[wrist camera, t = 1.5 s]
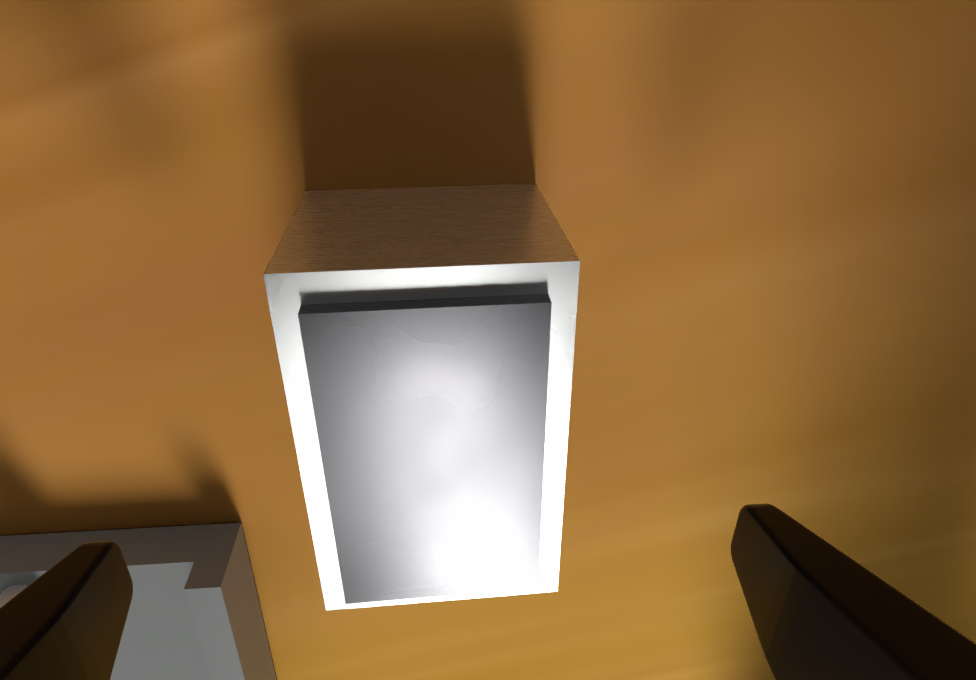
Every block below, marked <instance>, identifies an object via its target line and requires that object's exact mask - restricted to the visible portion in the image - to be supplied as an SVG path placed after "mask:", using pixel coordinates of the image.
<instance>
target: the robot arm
mask: <svg viewBox="0 0 976 680" xmlns="http://www.w3.org/2000/svg"><path fill="white" fill-rule="evenodd" d="M731 555H732V560H733V563H734V566H735V569H736V572H737V575H738V578H739V581H740V584H741V587H742V590H743V593H744V596H745V599H746V602H747V605H748V608H749V611H750V614H751V617H752V620H753V623H754V626H755V629H756V632H757V635H758V638H759V641H760V643H761V646H762V649H763V651H764V654H765V657H766V659H767V662H768V664H769V666H770V669H771V671H772V673H773V675H774V678H775V680H976V644H975V643H973V642H972V641H971V640H969V639H968V638H966V637H965V636H963V635H962V634H960V633H959V632H957V631H956V630H954V629H953V628H952V627H950V626H949V625H947V624H946V623H944V622H943V621H941V620H940V619H938V618H937V617H935V616H934V615H933V614H931V613H930V612H928V611H927V610H925V609H924V608H922V607H921V606H919V605H918V604H917V603H915V602H914V601H912V600H911V599H909V598H908V597H906V596H905V595H903V594H902V593H900V592H899V591H898V590H896V589H895V588H893V587H892V586H890V585H889V584H887V583H886V582H884V581H883V580H881V579H880V578H879V577H877V576H876V575H874V574H873V573H871V572H870V571H868V570H867V569H865V568H864V567H863V566H861V565H860V564H858V563H857V562H855V561H854V560H852V559H851V558H849V557H848V556H846V555H845V554H844V553H842V552H841V551H839V550H838V549H836V548H835V547H833V546H832V545H830V544H829V543H828V542H826V541H825V540H823V539H822V538H820V537H819V536H817V535H816V534H814V533H813V532H811V531H810V530H809V529H807V528H806V527H804V526H803V525H801V524H800V523H798V522H797V521H795V520H794V519H792V518H791V517H790V516H788V515H787V514H785V513H784V512H782V511H781V510H779V509H778V508H776V507H775V506H773V505H771V504H751V505H745V506H743V507H742V509H741V510H740V513H739V516H738V520H737V524H736V527H735V531H734V535H733V538H732V542H731ZM132 596H133V582H132V578H131V576H130V573H129V570H128V567H127V564H126V561H125V559H124V556H123V553H122V550H121V548H120V546H119V545H118V544H117V543H116V542H114V541H98V542H87V543H84V544H82V545H80V546H78V547H77V548H76V549H74V550H73V551H72V552H71V553H69V554H68V555H67V556H66V557H64V558H63V559H62V560H60V561H59V562H58V563H57V564H55V565H54V566H53V567H52V568H50V569H49V570H48V571H46V572H45V573H44V574H43V575H41V576H40V577H39V578H38V579H36V580H35V581H34V582H32V583H31V584H30V585H29V586H27V587H26V588H25V589H24V590H22V591H21V592H20V593H18V594H17V595H16V596H15V597H13V598H12V599H11V600H10V601H8V602H7V603H6V604H4V605H3V606H2V607H1V608H0V680H110V678H111V675H112V671H113V667H114V664H115V660H116V656H117V653H118V649H119V645H120V641H121V638H122V634H123V630H124V627H125V623H126V619H127V615H128V612H129V608H130V604H131V601H132Z"/></svg>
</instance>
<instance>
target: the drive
mask: <svg viewBox="0 0 976 680" xmlns="http://www.w3.org/2000/svg"><path fill="white" fill-rule="evenodd" d="M579 268H580V260H579V258H578V257H577V255H576V253H575V251H574V250H573V248H572V246H571V244H570V243H569V241H568V239H567V237H566V236H565V234H564V232H563V230H562V229H561V227H560V225H559V223H558V222H557V220H556V218H555V216H554V215H553V213H552V211H551V209H550V208H549V206H548V204H547V202H546V201H545V199H544V197H543V195H542V194H541V192H540V190H539V188H538V187H537V185H536V184H507V185H476V186H444V187H412V188H380V189H349V190H317V191H305V193H304V195H303V197H302V199H301V201H300V203H299V205H298V207H297V209H296V211H295V213H294V215H293V217H292V219H291V221H290V223H289V225H288V227H287V229H286V231H285V232H284V234H283V236H282V238H281V240H280V242H279V244H278V246H277V248H276V250H275V252H274V254H273V256H272V258H271V260H270V262H269V264H268V266H267V268H266V270H265V272H264V274H263V276H264V281H265V287H266V292H267V297H268V303H269V308H270V313H271V319H272V324H273V329H274V335H275V340H276V346H277V351H278V356H279V362H280V367H281V372H282V378H283V383H284V388H285V394H286V399H287V404H288V410H289V415H290V420H291V426H292V431H293V437H294V442H295V447H296V453H297V458H298V463H299V469H300V474H301V479H302V485H303V490H304V495H305V501H306V506H307V511H308V517H309V522H310V527H311V533H312V538H313V544H314V549H315V554H316V560H317V565H318V570H319V576H320V581H321V586H322V592H323V597H324V602H325V608H326V610H338V609H351V608H363V607H375V606H387V605H399V604H411V603H423V602H435V601H447V600H459V599H471V598H483V597H496V596H508V595H520V594H532V593H544V592H556V591H558V576H559V561H560V547H561V532H562V517H563V503H564V488H565V473H566V459H567V444H568V429H569V415H570V400H571V385H572V371H573V356H574V341H575V327H576V312H577V297H578V283H579Z"/></svg>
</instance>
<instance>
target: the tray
mask: <svg viewBox="0 0 976 680" xmlns="http://www.w3.org/2000/svg"><path fill="white" fill-rule="evenodd" d="M98 541H114V542H116V543H117V544H118V545H119V546H120V548H121V550H122V553H123V556H124V559H125V561H126V564H127V567H128V570H129V573H130V576H131V578H132V582H133V596H132V601H131V604H130V608H129V612H128V615H127V619H126V623H125V627H124V630H123V634H122V638H121V641H120V645H119V649H118V653H117V656H116V660H115V664H114V667H113V671H112V675H111V678H110V680H277V679H276V675H275V670H274V666H273V661H272V657H271V653H270V648H269V644H268V639H267V635H266V630H265V626H264V622H263V617H262V613H261V608H260V604H259V599H258V595H257V591H256V586H255V582H254V577H253V573H252V568H251V564H250V560H249V555H248V551H247V546H246V542H245V537H244V533H243V529H242V524H241V523H226V524H208V525H190V526H172V527H154V528H136V529H118V530H100V531H82V532H64V533H46V534H28V535H10V536H0V608H1V607H2V606H3V605H4V604H6V603H7V602H8V601H10V600H11V599H12V598H13V597H15V596H16V595H17V594H18V593H20V592H21V591H22V590H24V589H25V588H26V587H27V586H29V585H30V584H31V583H32V582H34V581H35V580H36V579H38V578H39V577H40V576H41V575H43V574H44V573H45V572H46V571H48V570H49V569H50V568H52V567H53V566H54V565H55V564H57V563H58V562H59V561H60V560H62V559H63V558H64V557H66V556H67V555H68V554H69V553H71V552H72V551H73V550H74V549H76V548H77V547H78V546H80V545H82V544H84V543H87V542H98Z"/></svg>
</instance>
